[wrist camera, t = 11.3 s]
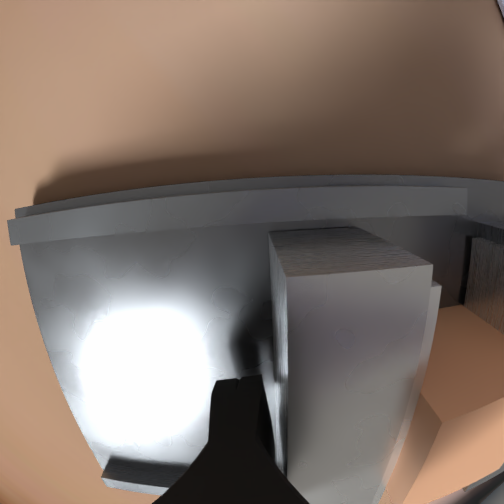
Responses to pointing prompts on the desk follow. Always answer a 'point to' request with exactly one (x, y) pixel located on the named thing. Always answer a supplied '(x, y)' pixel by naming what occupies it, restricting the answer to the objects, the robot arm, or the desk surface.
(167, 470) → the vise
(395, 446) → the moving jaw
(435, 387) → the block
